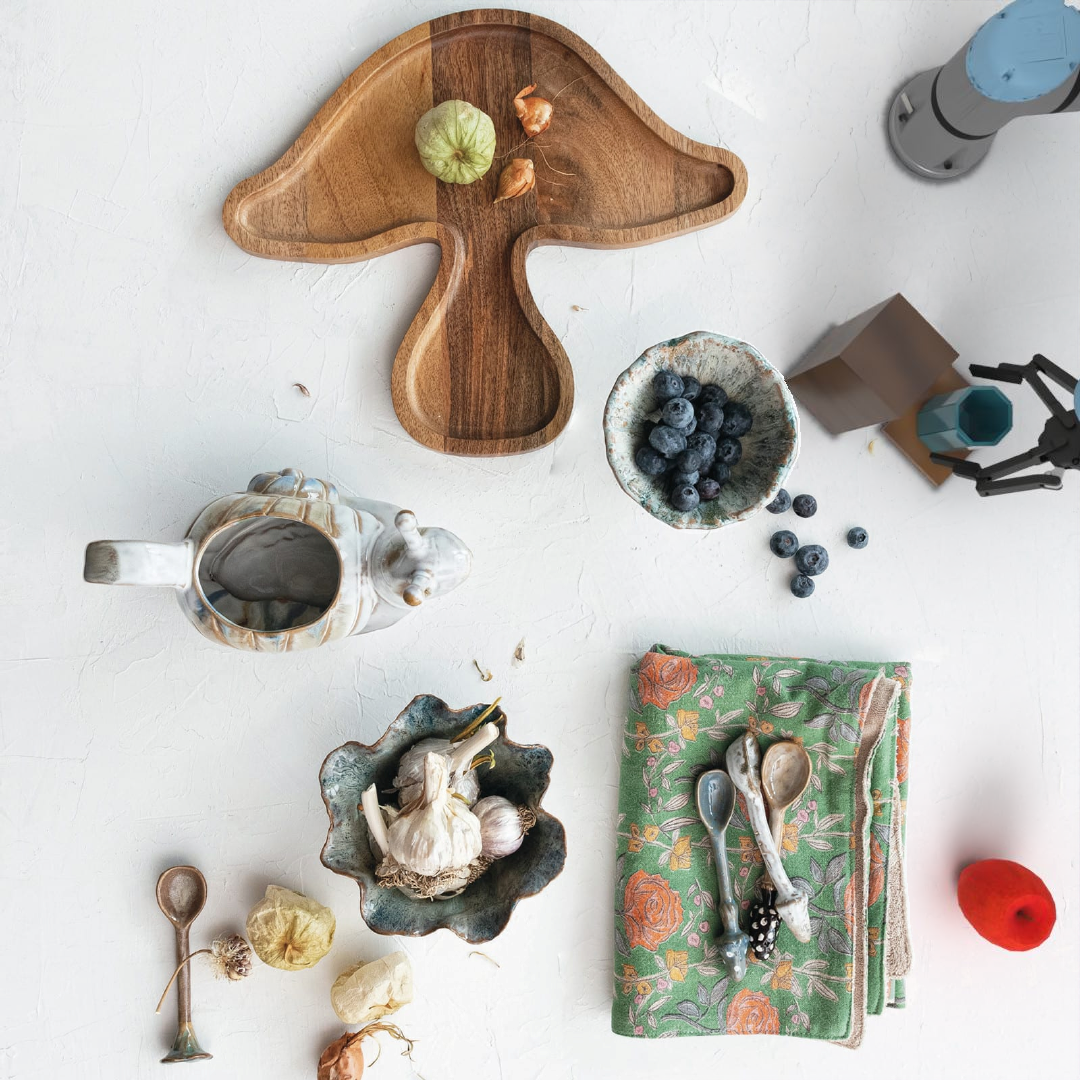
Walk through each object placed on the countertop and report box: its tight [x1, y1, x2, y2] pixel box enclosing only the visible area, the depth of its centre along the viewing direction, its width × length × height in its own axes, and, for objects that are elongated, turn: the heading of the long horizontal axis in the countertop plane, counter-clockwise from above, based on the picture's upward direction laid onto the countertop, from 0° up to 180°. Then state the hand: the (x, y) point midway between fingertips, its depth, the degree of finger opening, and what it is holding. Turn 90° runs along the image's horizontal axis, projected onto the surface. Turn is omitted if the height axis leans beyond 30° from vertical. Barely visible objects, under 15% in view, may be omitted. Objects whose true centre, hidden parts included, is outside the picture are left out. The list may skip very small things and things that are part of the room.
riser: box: [783, 292, 961, 436], centre depth 115 cm, size 11×11×20 cm
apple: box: [956, 858, 1057, 953], centre depth 121 cm, size 12×12×13 cm
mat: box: [879, 364, 975, 488], centre depth 125 cm, size 14×12×1 cm
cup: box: [917, 385, 1014, 453], centre depth 120 cm, size 8×8×10 cm
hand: (951, 413), depth 120 cm, fingers open, 13 cm apart
